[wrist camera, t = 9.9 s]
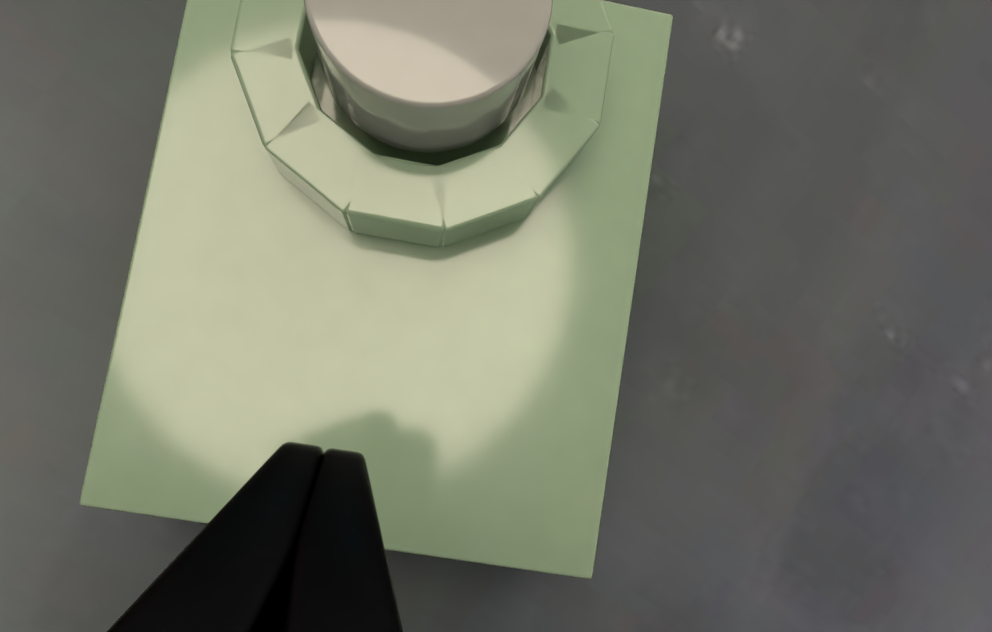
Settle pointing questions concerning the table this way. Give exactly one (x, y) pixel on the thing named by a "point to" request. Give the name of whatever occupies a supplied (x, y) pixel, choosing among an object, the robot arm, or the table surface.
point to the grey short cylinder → (427, 65)
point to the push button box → (386, 290)
